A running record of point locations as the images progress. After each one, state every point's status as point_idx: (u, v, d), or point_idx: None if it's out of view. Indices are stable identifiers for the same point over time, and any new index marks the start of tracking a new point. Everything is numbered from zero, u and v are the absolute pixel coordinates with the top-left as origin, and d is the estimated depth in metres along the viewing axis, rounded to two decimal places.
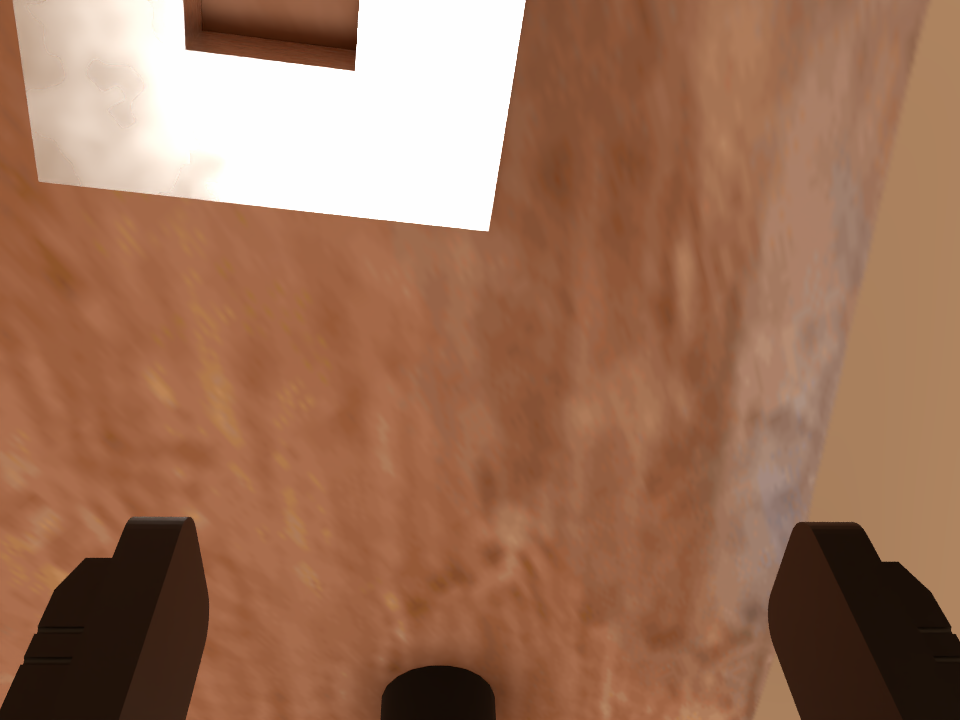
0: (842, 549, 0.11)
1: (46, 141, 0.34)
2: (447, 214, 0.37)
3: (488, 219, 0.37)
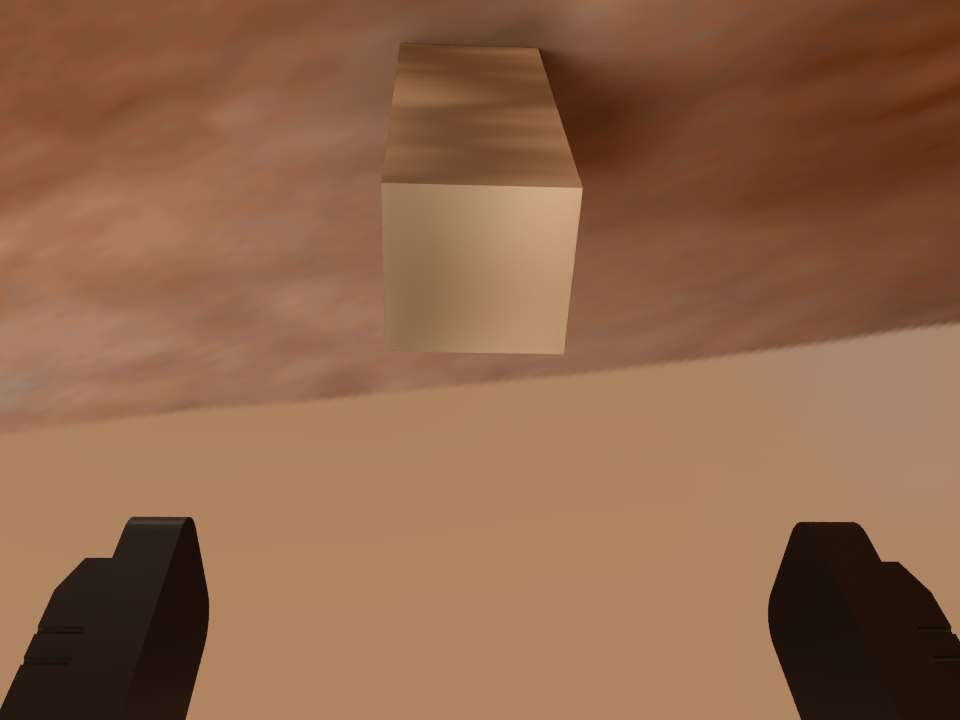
0: (842, 549, 0.11)
1: None
2: None
3: None
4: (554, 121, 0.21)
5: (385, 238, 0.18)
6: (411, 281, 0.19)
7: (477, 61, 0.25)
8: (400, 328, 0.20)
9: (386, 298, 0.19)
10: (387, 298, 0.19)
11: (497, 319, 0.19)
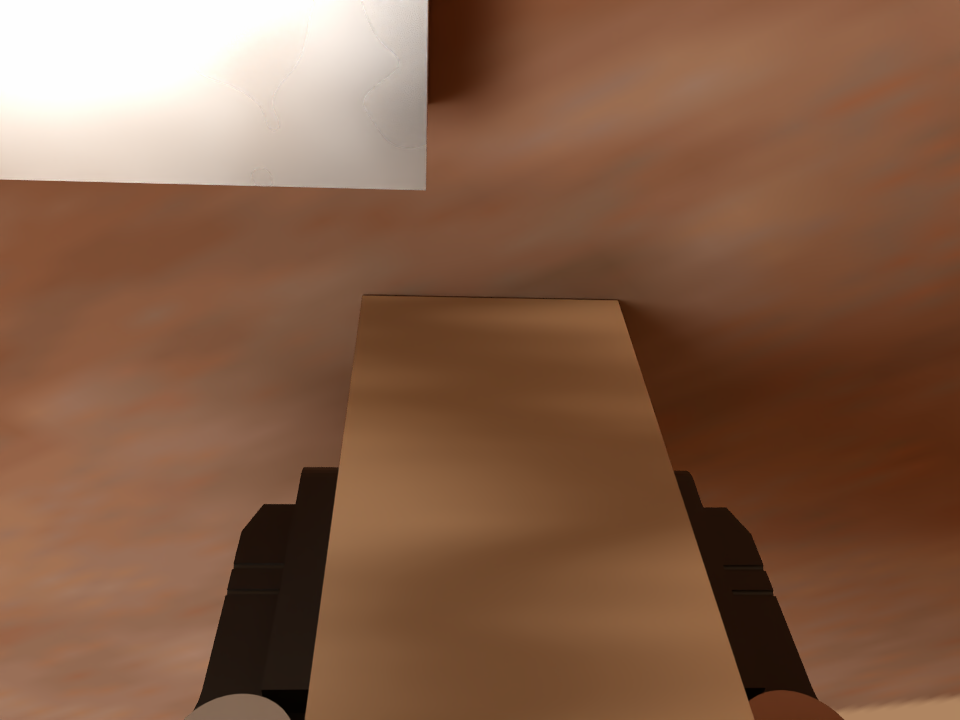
0: None
1: None
2: None
3: None
4: (704, 617, 0.09)
5: None
6: None
7: (508, 353, 0.13)
8: None
9: None
10: None
11: None
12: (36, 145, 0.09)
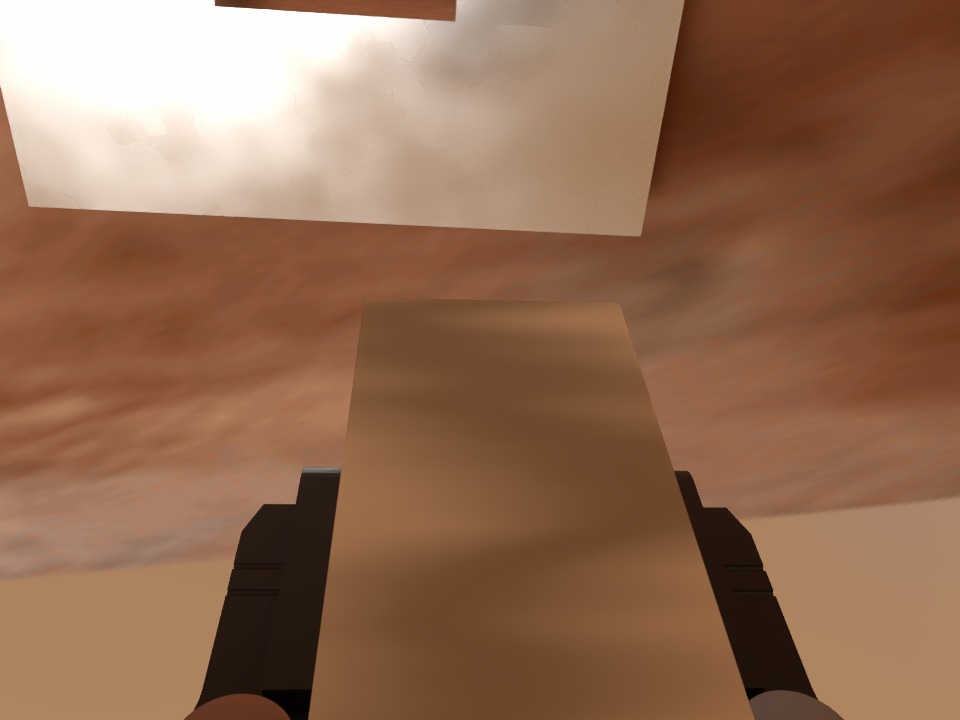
0: None
1: None
2: (35, 148, 0.25)
3: (47, 204, 0.26)
4: (706, 620, 0.09)
5: None
6: None
7: (510, 355, 0.13)
8: None
9: None
10: None
11: None
12: (506, 217, 0.26)
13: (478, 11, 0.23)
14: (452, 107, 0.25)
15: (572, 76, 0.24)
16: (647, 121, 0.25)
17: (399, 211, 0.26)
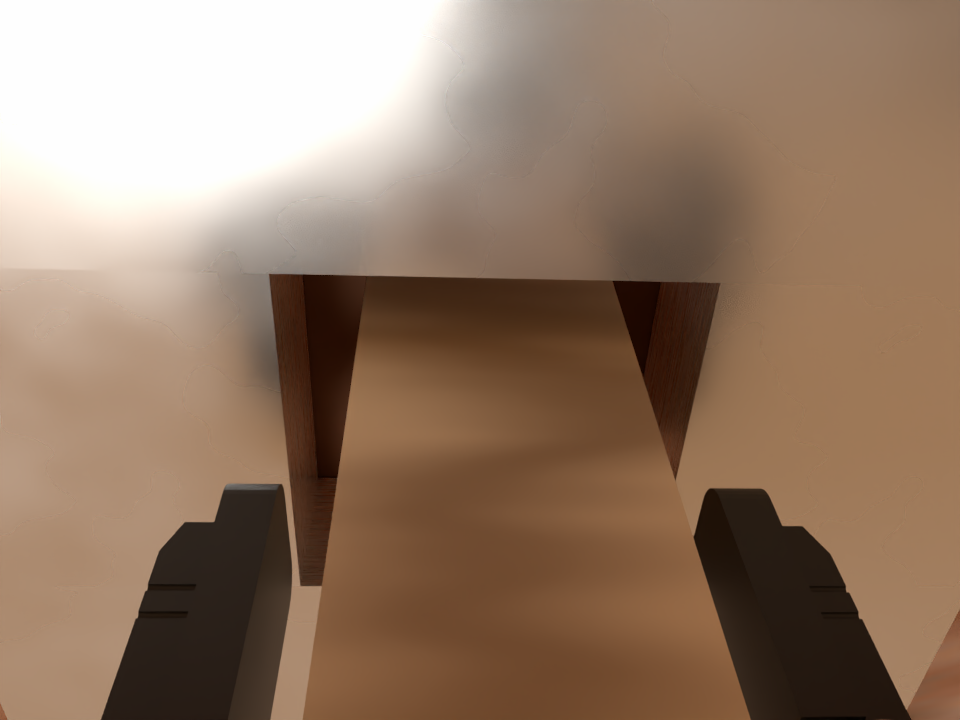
0: (745, 513, 0.11)
1: None
2: None
3: None
4: (672, 515, 0.10)
5: None
6: None
7: (503, 300, 0.14)
8: None
9: None
10: None
11: None
12: None
13: None
14: None
15: None
16: (909, 668, 0.18)
17: None
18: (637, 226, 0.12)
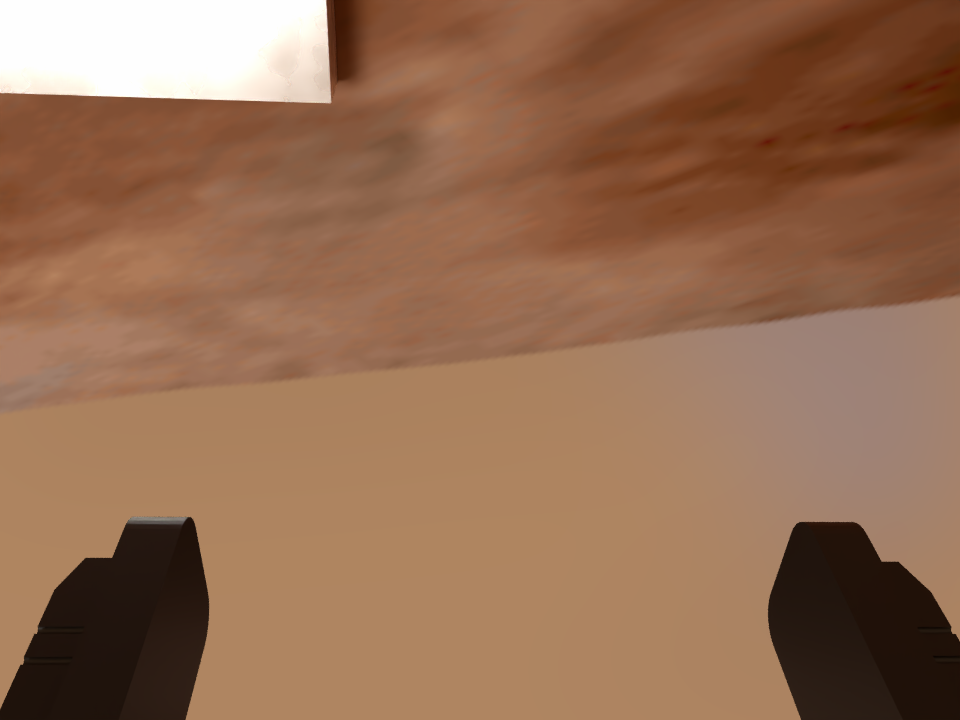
0: (842, 549, 0.11)
1: None
2: None
3: None
4: None
5: None
6: None
7: None
8: None
9: None
10: None
11: None
12: (226, 90, 0.35)
13: None
14: (168, 2, 0.34)
15: None
16: (315, 10, 0.34)
17: (145, 86, 0.35)
18: None
